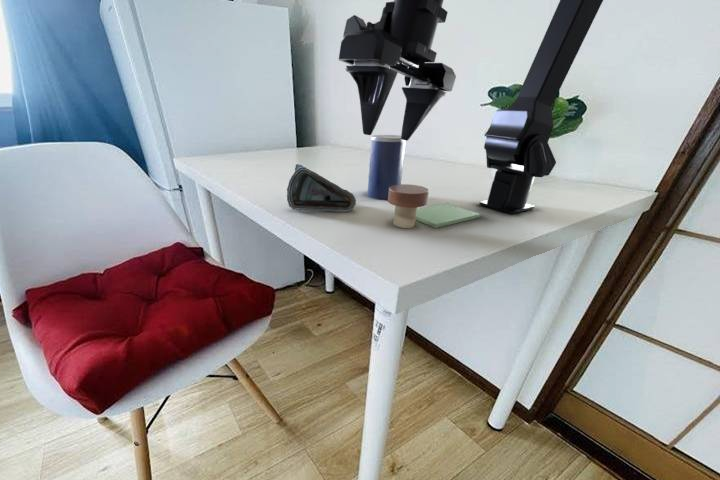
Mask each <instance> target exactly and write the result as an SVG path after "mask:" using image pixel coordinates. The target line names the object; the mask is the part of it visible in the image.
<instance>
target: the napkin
mask: <svg viewBox="0 0 720 480" xmlns="http://www.w3.org/2000/svg"><path fill="white" fill-rule="evenodd" d="M480 217H481V213H478V212H476V211H472V210H469V209H466V208H462V207H459V206H456V205H454V204H450V203H447V202H445V203H440V204H435V205H430V206H424V207H419V208H417V214H416V220H415V221H417V222H420V223H422V224H425V225H427V226H430V227H432V228H434V229H438V228H441V227H442V228H443V227H446V226H449V225H454V224H459V223H462V222H467V221H470V220H473V219H474V220H475V219H480Z"/></svg>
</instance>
